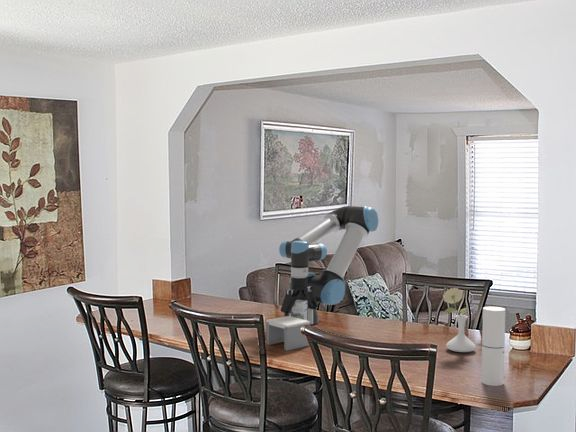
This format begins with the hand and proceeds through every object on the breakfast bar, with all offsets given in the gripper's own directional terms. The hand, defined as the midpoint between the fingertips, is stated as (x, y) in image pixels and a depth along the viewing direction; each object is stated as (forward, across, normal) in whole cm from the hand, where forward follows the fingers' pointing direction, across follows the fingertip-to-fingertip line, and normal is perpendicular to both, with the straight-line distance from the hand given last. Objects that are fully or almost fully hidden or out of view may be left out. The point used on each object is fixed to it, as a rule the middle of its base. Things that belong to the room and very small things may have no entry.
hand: (299, 325), depth 289 cm
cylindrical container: (+4, +5, -92) cm, 92 cm away
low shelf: (+3, -16, -11) cm, 20 cm away
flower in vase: (+4, +30, -61) cm, 68 cm away
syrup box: (+4, 0, 0) cm, 4 cm away
